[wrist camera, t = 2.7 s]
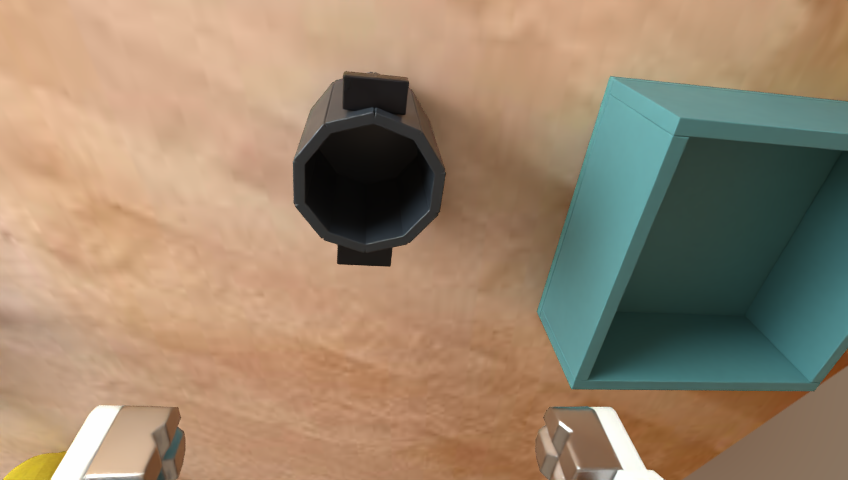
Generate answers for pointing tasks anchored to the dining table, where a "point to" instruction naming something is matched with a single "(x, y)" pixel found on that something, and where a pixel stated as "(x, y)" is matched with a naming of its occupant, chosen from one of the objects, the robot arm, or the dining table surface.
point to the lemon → (37, 467)
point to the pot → (368, 168)
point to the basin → (704, 243)
